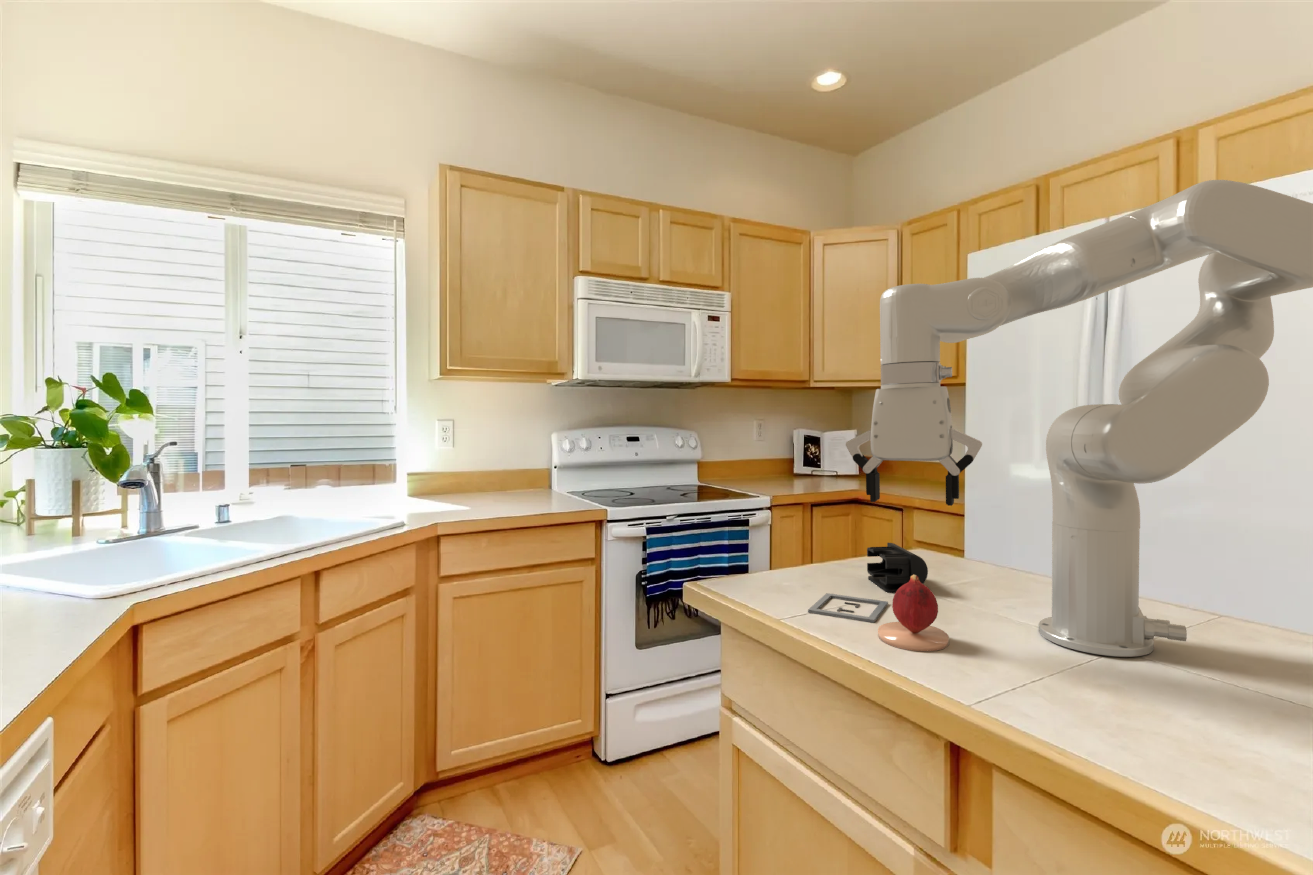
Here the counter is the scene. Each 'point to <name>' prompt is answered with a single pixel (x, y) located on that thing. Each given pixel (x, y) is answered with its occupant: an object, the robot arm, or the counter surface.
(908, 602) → the onion
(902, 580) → the end cap
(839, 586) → the counter surface
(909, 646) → the disc
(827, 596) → the frame
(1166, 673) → the counter surface
